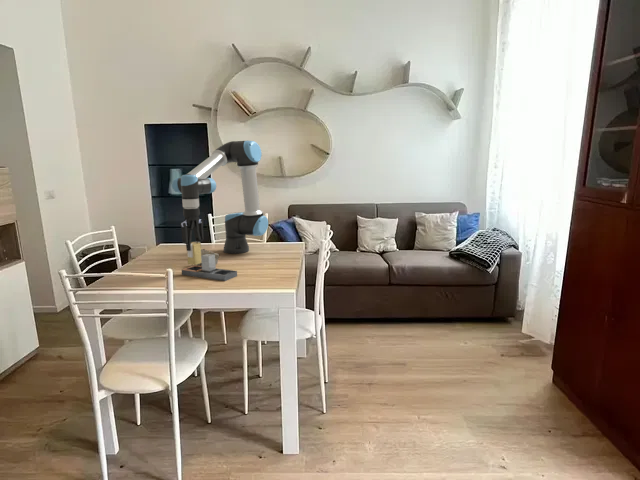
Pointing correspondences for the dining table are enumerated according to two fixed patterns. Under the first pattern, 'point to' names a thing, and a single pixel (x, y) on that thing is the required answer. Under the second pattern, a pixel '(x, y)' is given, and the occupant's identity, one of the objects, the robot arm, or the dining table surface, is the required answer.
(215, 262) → the rock
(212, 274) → the grey block rack
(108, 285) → the dining table surface
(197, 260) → the tan rectangular block
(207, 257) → the grey square-ended block
